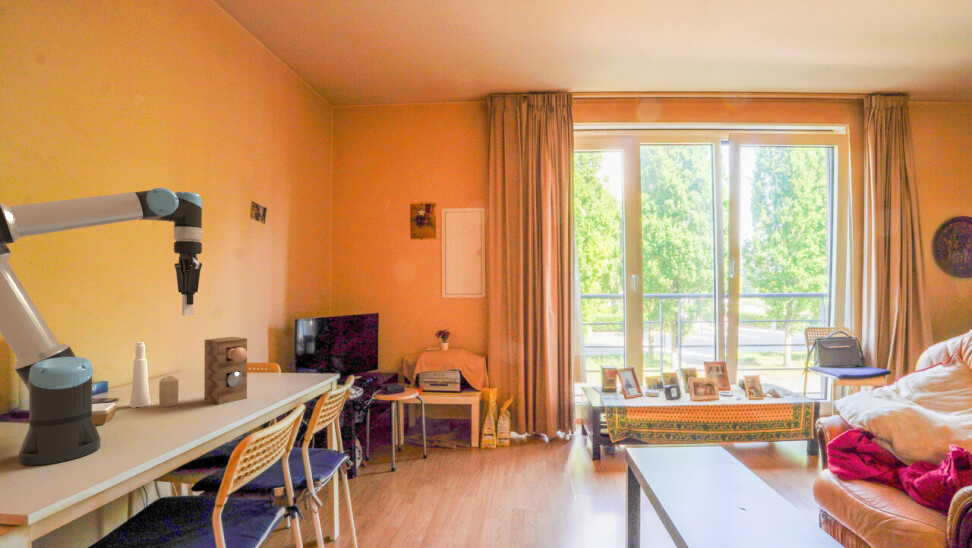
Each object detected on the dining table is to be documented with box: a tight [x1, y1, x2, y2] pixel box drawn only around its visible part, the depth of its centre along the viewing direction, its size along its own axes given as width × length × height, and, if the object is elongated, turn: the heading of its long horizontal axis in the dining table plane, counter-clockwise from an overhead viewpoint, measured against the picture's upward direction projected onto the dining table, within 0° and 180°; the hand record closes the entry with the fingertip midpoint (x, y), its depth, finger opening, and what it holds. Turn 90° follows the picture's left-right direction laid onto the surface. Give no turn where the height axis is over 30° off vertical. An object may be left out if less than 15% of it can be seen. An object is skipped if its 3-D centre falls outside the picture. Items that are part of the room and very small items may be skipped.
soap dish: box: [92, 402, 119, 426], centre depth 141 cm, size 12×10×5 cm
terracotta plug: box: [226, 347, 248, 362], centre depth 167 cm, size 11×5×5 cm, turn 57°
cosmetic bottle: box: [128, 341, 152, 409], centre depth 161 cm, size 6×6×22 cm
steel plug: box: [226, 372, 243, 387], centre depth 168 cm, size 11×5×5 cm, turn 57°
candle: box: [158, 375, 179, 408], centre depth 162 cm, size 6×6×10 cm
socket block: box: [203, 336, 248, 405], centre depth 169 cm, size 10×10×22 cm
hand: (187, 315), depth 148 cm, fingers closed
